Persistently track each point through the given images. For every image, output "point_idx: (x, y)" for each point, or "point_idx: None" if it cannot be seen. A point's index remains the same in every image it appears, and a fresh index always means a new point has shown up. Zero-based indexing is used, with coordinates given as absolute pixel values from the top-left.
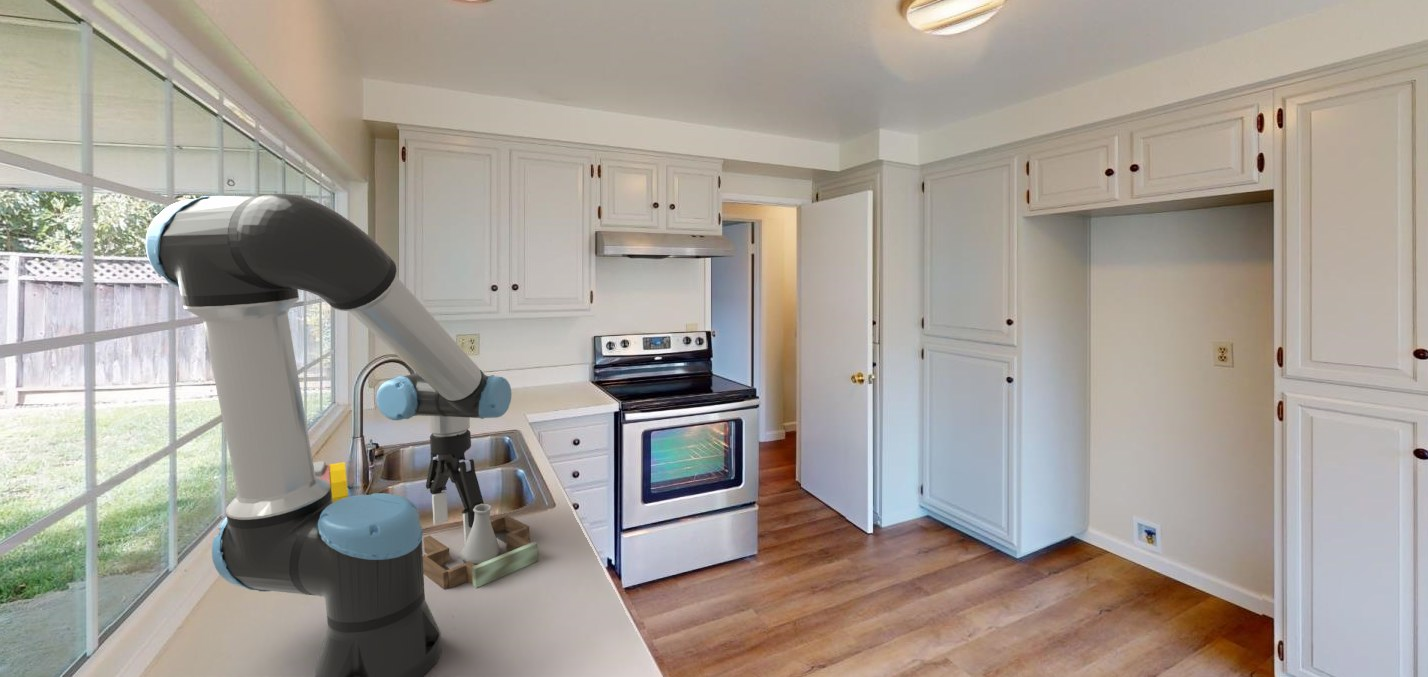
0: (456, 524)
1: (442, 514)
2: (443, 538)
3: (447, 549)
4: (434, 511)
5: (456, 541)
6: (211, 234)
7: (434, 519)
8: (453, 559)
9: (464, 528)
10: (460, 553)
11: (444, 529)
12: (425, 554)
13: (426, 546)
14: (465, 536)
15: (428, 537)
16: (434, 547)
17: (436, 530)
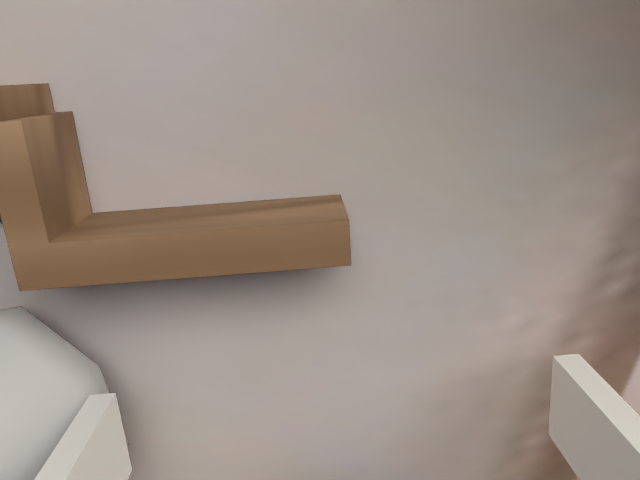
0: None
1: (579, 444)
2: (442, 339)
3: (20, 276)
4: (608, 420)
5: (339, 376)
6: None
7: (579, 378)
8: None
9: (55, 467)
10: (4, 325)
11: None
12: (22, 129)
13: (301, 209)
14: (72, 426)
15: (323, 247)
16: (161, 228)
17: (591, 348)
